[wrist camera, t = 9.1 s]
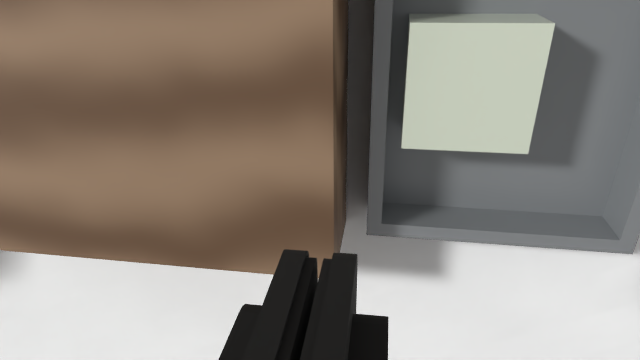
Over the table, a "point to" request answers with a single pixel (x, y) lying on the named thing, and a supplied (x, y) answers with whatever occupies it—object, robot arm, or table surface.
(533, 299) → the table surface
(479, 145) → the tile
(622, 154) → the bin
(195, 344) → the table surface
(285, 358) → the robot arm
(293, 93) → the brown slab
